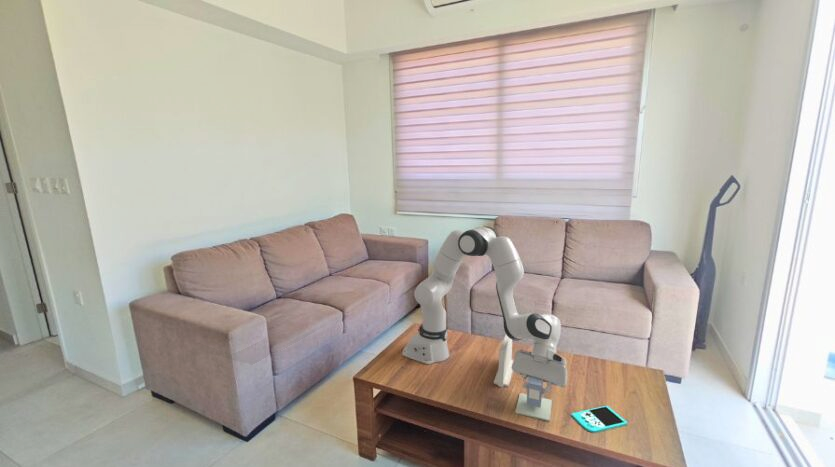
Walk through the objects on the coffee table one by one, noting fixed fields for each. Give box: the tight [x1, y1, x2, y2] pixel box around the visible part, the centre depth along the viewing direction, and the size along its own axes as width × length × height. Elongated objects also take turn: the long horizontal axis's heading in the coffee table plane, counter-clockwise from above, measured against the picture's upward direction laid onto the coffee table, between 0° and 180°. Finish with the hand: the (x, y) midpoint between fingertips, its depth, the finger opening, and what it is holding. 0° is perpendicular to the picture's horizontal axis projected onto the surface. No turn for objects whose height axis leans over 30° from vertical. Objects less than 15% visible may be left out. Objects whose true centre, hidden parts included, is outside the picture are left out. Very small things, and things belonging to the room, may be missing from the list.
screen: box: [493, 334, 514, 388], centre depth 162 cm, size 6×22×16 cm, turn 157°
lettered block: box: [526, 376, 544, 408], centre depth 140 cm, size 5×5×9 cm
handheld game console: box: [571, 405, 628, 433], centre depth 135 cm, size 10×16×1 cm, turn 106°
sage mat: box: [515, 392, 553, 422], centre depth 141 cm, size 12×12×1 cm
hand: (534, 391), depth 140 cm, fingers closed on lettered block, 5 cm apart
